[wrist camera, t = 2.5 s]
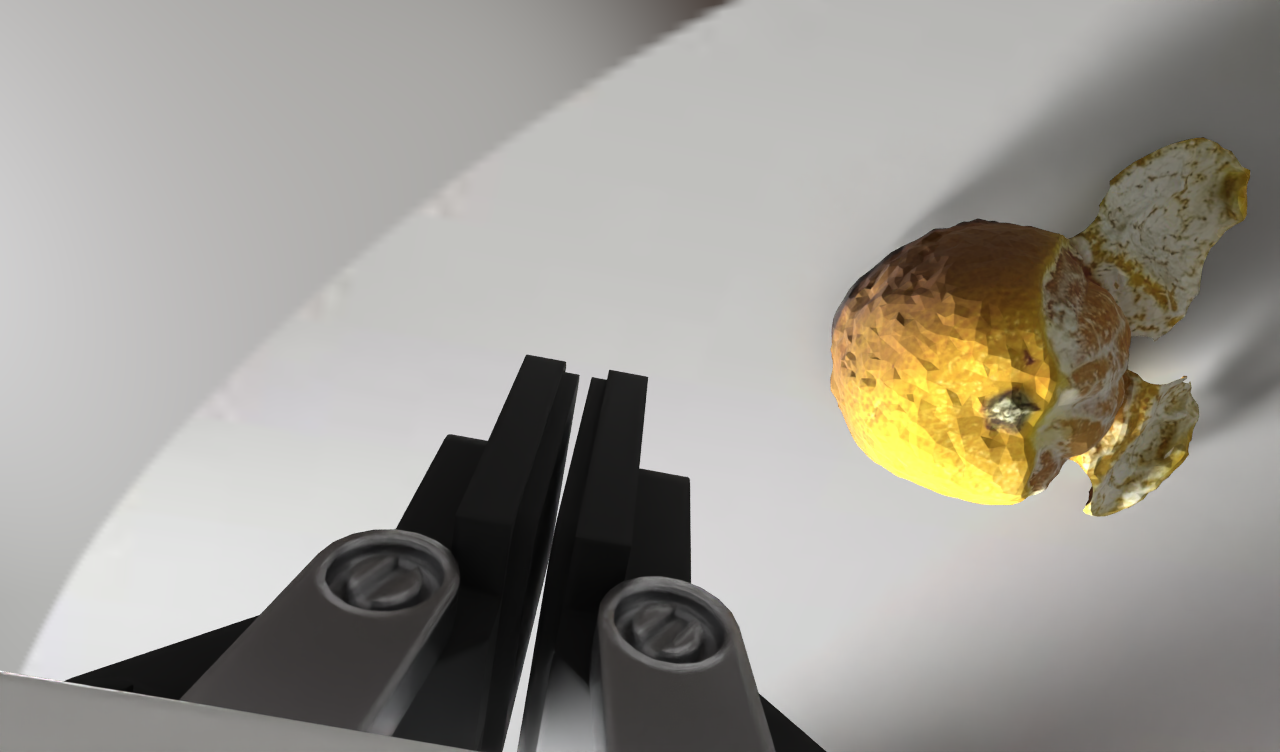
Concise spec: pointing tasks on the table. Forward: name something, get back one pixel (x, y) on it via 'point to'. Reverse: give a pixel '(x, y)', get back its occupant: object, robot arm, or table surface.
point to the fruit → (1037, 341)
